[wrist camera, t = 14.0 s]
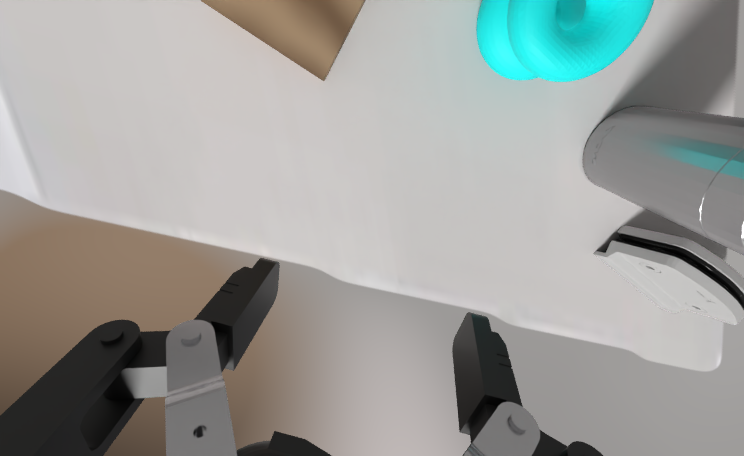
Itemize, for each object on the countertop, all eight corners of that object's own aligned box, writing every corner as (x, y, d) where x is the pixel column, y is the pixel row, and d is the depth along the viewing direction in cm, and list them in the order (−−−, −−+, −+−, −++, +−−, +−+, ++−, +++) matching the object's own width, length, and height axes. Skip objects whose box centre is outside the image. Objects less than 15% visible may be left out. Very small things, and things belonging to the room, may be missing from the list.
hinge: (591, 252, 42) (678, 275, 32) (611, 222, 42) (704, 236, 32) (661, 309, 47) (756, 344, 37) (679, 282, 47) (779, 310, 37)
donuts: (580, 110, 25) (487, 21, 22) (521, 100, 34) (451, 36, 31) (700, -20, 21) (608, -144, 19) (599, 8, 30) (527, -73, 28)
